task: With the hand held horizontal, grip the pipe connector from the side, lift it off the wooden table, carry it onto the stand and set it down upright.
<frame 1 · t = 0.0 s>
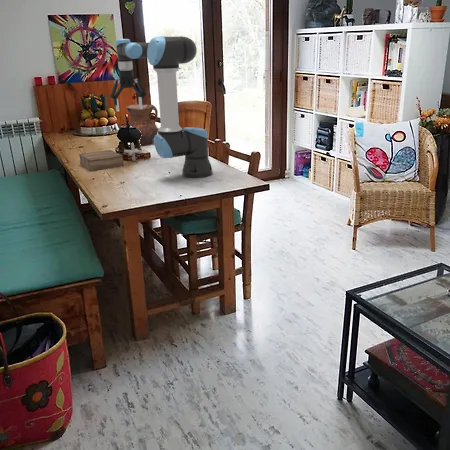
hand: (129, 110, 257), 28 cm above the table, tool pointing down, fingers open, 13 cm apart
jug: (142, 143, 311), on the table
stand: (101, 165, 256), on the table
pipe connector: (134, 160, 266), on the table
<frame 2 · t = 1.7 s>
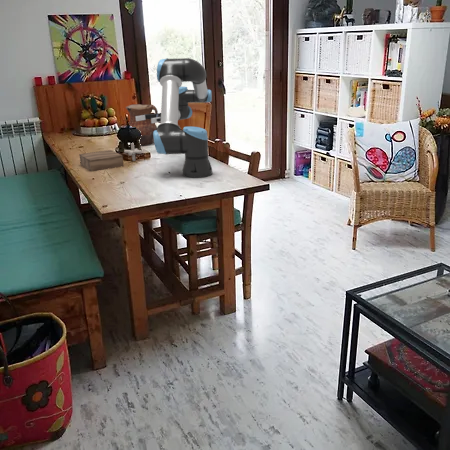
hand: (143, 119, 265), 22 cm above the table, tool horizontal, fingers open, 13 cm apart
nothing on the table moved.
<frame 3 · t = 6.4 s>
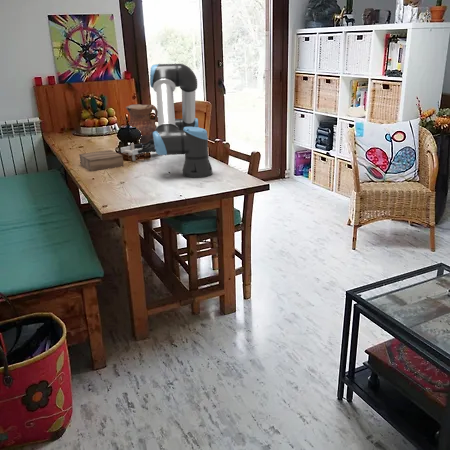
hand: (126, 151, 261), 6 cm above the table, tool horizontal, fingers closed on pipe connector, 10 cm apart
pipe connector: (134, 160, 266), on the table, touching gripper
everything else where it was.
when the fingers open (13 cm above the table, at t = 11.0 s): pipe connector drops 1 cm, resting on stand.
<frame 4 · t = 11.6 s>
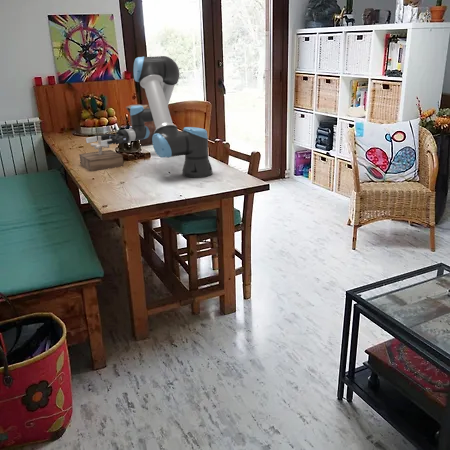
hand: (93, 142, 249), 13 cm above the table, tool horizontal, fingers open, 13 cm apart
pipe connector: (100, 155, 254), point 6 cm above the table, touching stand
everything else where it was.
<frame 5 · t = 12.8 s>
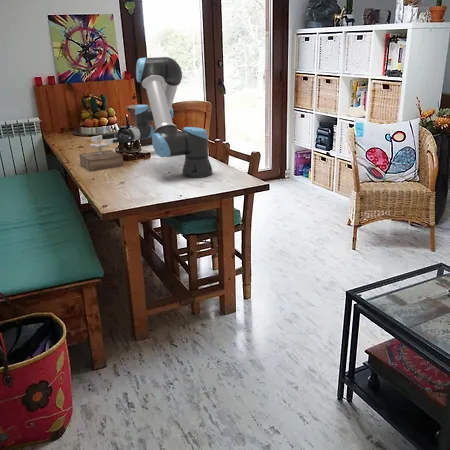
hand: (99, 140, 252), 14 cm above the table, tool horizontal, fingers open, 13 cm apart
nothing on the table moved.
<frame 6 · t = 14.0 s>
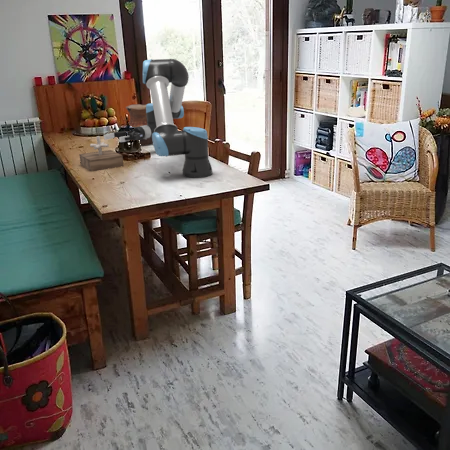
hand: (111, 138, 257), 14 cm above the table, tool horizontal, fingers open, 13 cm apart
nothing on the table moved.
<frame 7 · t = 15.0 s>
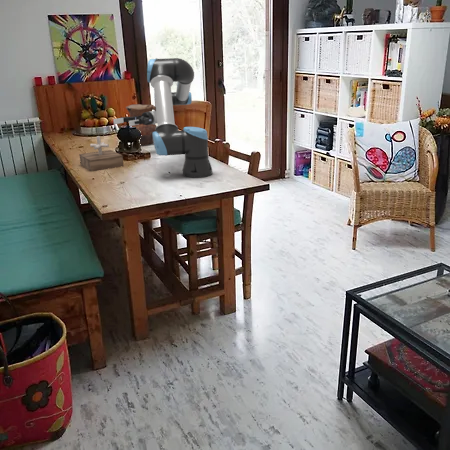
hand: (121, 122, 261), 21 cm above the table, tool horizontal, fingers open, 13 cm apart
nothing on the table moved.
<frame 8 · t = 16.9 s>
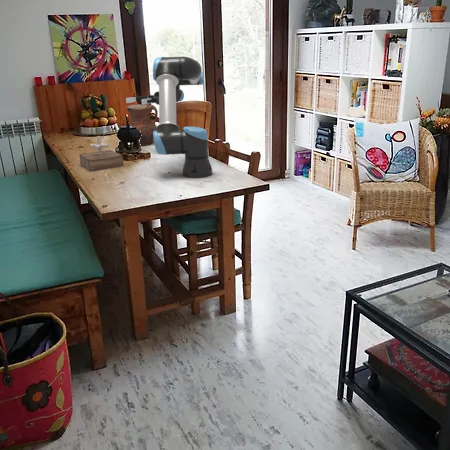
hand: (134, 101, 262), 32 cm above the table, tool horizontal, fingers open, 13 cm apart
nothing on the table moved.
at the end: pipe connector inside the target area on the stand (0.1 cm from its centre), point 5.8 cm above the stand's base; pipe connector tilted 0°; the gripper is holding nothing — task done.
